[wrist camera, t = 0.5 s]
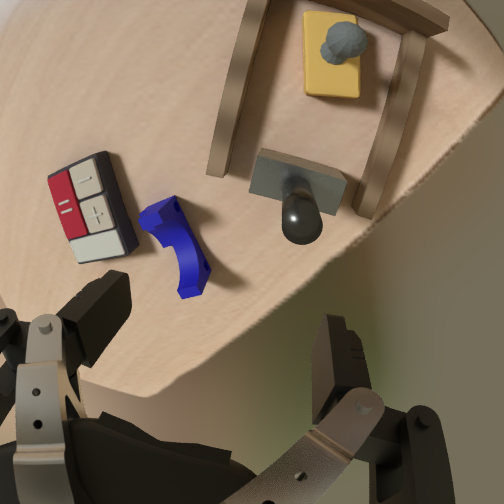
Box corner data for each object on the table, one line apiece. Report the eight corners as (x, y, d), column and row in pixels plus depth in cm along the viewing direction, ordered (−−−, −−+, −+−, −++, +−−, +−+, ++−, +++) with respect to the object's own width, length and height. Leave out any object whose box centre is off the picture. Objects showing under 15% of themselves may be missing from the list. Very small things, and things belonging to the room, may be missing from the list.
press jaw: (261, 147, 32) (247, 177, 19) (337, 169, 32) (372, 213, 20) (253, 179, 34) (235, 228, 21) (327, 199, 34) (352, 259, 22)
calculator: (93, 153, 31) (127, 258, 37) (110, 148, 35) (140, 245, 41) (43, 177, 33) (75, 267, 39) (60, 171, 37) (89, 254, 43)
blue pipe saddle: (148, 206, 38) (128, 223, 32) (175, 194, 36) (157, 211, 31) (185, 276, 43) (172, 301, 37) (211, 269, 42) (201, 294, 36)
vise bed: (260, -23, 21) (253, -52, 14) (418, 29, 22) (449, 16, 15) (211, 168, 34) (193, 186, 27) (365, 210, 35) (383, 238, 28)
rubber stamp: (352, 98, 28) (388, 96, 18) (303, 95, 29) (315, 88, 18) (350, 23, 24) (381, -10, 13) (301, 18, 24) (310, -21, 14)
